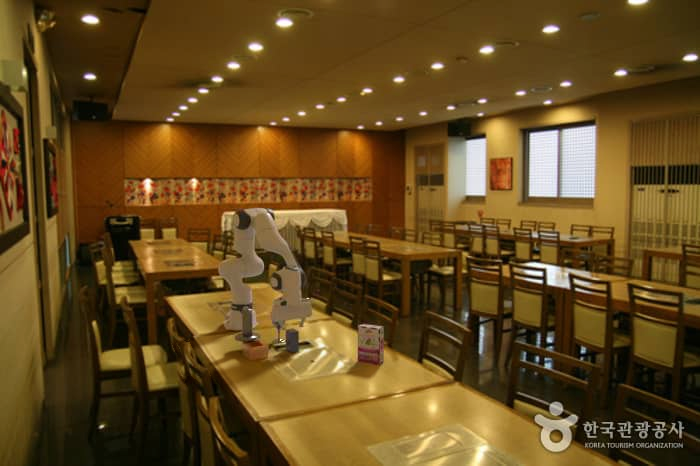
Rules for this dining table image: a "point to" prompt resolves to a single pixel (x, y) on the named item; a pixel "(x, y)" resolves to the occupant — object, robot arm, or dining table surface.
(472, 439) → the dining table surface
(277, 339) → the wine glass
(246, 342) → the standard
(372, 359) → the candy bar box
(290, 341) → the dark brown upright block
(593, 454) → the dining table surface
